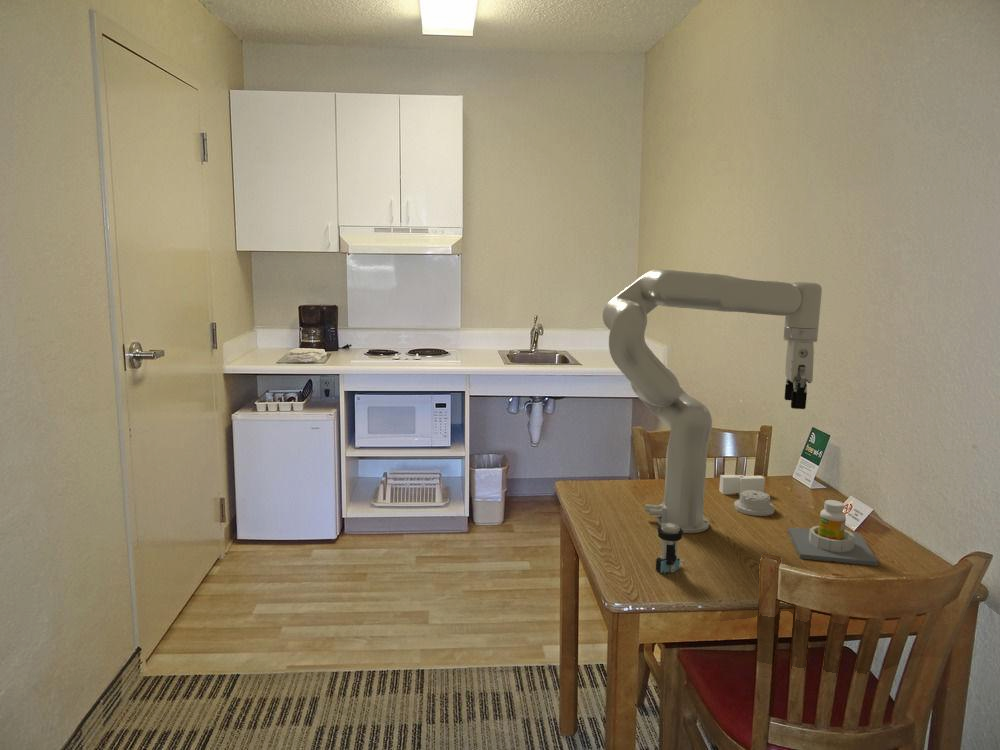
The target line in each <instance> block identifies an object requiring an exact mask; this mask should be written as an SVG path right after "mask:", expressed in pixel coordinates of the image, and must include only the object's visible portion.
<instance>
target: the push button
mask: <svg viewBox="0 0 1000 750" xmlns="http://www.w3.org/2000/svg"><path fill="white" fill-rule="evenodd" d="M656 528H657V529H656V530H657V532H658V535H657V537H658V538H660V539H661V551H660V552H661V553H660V557H657V558H656V560H655V570H656V571H658V572H659V573H661V574H662V573H664V574H666V573H665V572H668V573H675V572H676V571H679V570H680V567H681V566H684V564H683V563H681V562H684V559H682V558H680V557H678V541H680V540H682V538H683V535H684V533H683V530H682V529H681V528H679V525H677V524H675V523H669V522H668V523H663V524H662V526H660V525H659V526H658V527H656ZM678 569H679V570H678ZM675 570H676V571H675ZM670 571H671V572H670Z"/></svg>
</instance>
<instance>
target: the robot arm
mask: <svg viewBox="0 0 1000 750" xmlns="http://www.w3.org/2000/svg"><path fill="white" fill-rule="evenodd" d="M822 291H823V290H822V286H821V285H820V284H819V283H816V282H808V281H807V282H803V281H802V282H801V281H800V282H799V281H798V282H792V283H790V282H785V281H775V280H758V279H757V280H756V279H748V278H740V277H736V276H731V275H727V274H720V273H719V274H718V273H708V272H707V273H705V272H694V271H693V272H692V271H682V270H672V269H663V268H662V269H661V268H655V269H652V270H649V271H648V272H647V271H646V273H644V274H643V275H642V276H640V277H639V278H637V279H636V280H635V281H633V282H632V283H631V284H630V285H629V286H627V287H625V288H624V290H622V291H620V292H619V293H618V294H617V295H616V296H614V297H612V299H610V300H609V301H608V302H607V304H606V305H605V307H604V308H603V310H602V321H603V323H604V325H605V327H606V328H607V329H608V330H610V331H609V334H608V335H609V336H608V349H609V354H610V357H611V359H612V361H613V362H614V363H613V364H615V366H616V367H617V368H618V369H619V370H620V371H621V373H622V374H623V375H624V376H625V377H626V379H627V380H628V381H629V382H630V386H631V389H632V391H633V392H634V393H635V395H636V396H637V397H638V399H639V400H640V401H641V402H643V405H644V404H645V406H646V408H648V409H649V410H650V411H651V412H652V414H654V415H655V416H656V418H657V419H659V421H660V422H662V424H664V425H665V427H667V428H668V429H670V433H669V438H668V442H667V447H666V456H665V475H664V477H665V478H664V491H663V492H664V493H663V497H664V498H663V500H662V503H660V504H659V503H658V504H657V505H656V504H652V503H651V504H650V503H645V505H644V507H645V508H644V512H645V513H646V512H647V513H649V515H650V516H656V524H658V525H659V527H660V526H662V524H663V523H668V522H669V523H675V524H677V525H679V528H681V529H682V530H683V534H698V533H703V532H705V531H706V530H707V531H708V529H709V527H710V522H709V519H707V518H706V516H704V505H705V489H706V477H707V476H706V475H707V474H706V473H707V458H708V447H709V443H710V442H709V441H710V438H711V435H712V429H713V428H712V427H713V420H712V418H713V417H712V414H711V412H710V411H709V409H708V408H707V406H706V405H705V404H704V403H702V402H701V401H699V400H698V399H696V398H694V397H692V396H691V395H689V394H688V393H687V392H686V391H684V389H683V388H682V387H681V386H680V383H679V380H678V378H677V377H676V375H675V374H674V373H673V372H672V371H671V370H670V369H669V368H668V367H667V366H666V365H665V364H664V363H663V362H662V361H661V360H660V359H659V358H658V357H657V356H656V355H655V354H654V352H653V351H652V349H651V348H649V346H648V345H647V343H646V339H645V335H646V329H647V326H648V314H649V313H651V312H652V311H653V310H654V309H656V308H657V307H659V306H661V307H667V308H668V307H669V308H680V309H693V310H703V311H713V312H714V311H715V312H726V313H729V312H730V313H731V312H732V313H746V314H757V315H770V316H780V317H781V316H785V317H784V327H783V328H784V329H783V340H784V341H787V346H786V357H785V372H784V373H785V374H784V375H785V378H786V380H785V381H786V382H785V386H784V400H785V401H790V407H791V408H790V409H795V410H796V409H797V410H805V409H806V407H807V396H808V393H807V392H808V391H807V390H808V388H807V387H808V386H807V385H808V384H812V382H813V377H814V376H813V375H814V354H815V351H814V349H815V346H814V343H817V342H818V337H819V326H820V314H821V305H822V293H823V292H822ZM807 383H808V384H807Z"/></svg>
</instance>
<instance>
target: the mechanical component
mask: <svg viewBox="0 0 1000 750" xmlns="http://www.w3.org/2000/svg"><path fill="white" fill-rule="evenodd" d="M733 505H734V506H733V507H734V509H735V510H736V511H737V512H739V513H742V514H745V515H749V516H756V517H766V516H771V515H773V514H774V513H775V505H774V504H772V503H771V495H770V494H768V493H767V492H764V493H763V492H761V491H755V490H749V491H748V490H746V491H744V492H743V491H742V492H741V493H740V495H739V498H738V499H737V500H735V501H734V503H733Z"/></svg>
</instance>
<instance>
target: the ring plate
mask: <svg viewBox="0 0 1000 750" xmlns="http://www.w3.org/2000/svg"><path fill="white" fill-rule="evenodd" d="M787 529H788V530H787V532H788V534H789V536H790V539H791V541H792V544H793V545H794V548H795V551H796V553H797V555H798V558H799V559H803V560H811V559H812V561H821V560H828V561H827V562H831V561H837V562H836V563H841V562H843V563H844V564H851V565H852V564H853V565H861V566H862V565H863V566H871V567H872V566H874V567H879V560H878V559H877V557H876V556H875V554H874V553H873V551H872V550H871V547H869V545H868V544H867V542H866V541H865V539H864V538H863V537H862V535H861V533H857V532H856V533H854V532H851V531H848V530H846V529H845V530H844V540H833V539H828V538H824V537H821V536H819V535H818V530H819V525H814V526H812V527H810V528H801V527H791V526H789V527H787ZM843 563H842V564H843Z"/></svg>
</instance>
